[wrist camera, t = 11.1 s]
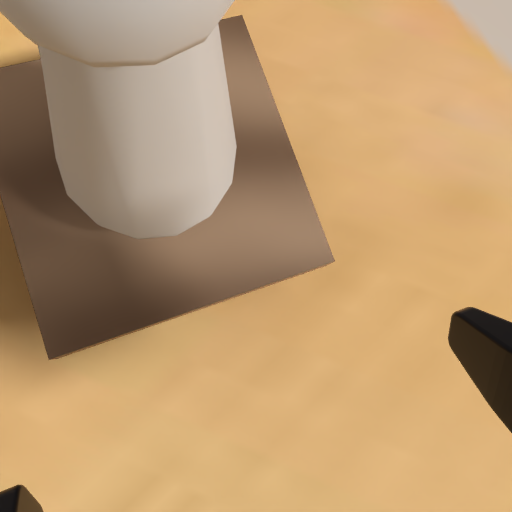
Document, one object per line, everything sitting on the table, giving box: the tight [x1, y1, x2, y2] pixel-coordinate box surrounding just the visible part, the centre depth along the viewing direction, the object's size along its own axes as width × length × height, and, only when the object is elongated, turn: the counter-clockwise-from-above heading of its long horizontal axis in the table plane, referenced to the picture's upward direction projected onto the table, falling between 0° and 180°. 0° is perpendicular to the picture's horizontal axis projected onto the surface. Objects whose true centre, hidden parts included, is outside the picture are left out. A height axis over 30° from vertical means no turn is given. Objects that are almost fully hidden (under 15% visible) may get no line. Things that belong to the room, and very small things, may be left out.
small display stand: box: [0, 15, 335, 360], centre depth 20 cm, size 11×11×4 cm
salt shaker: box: [0, 0, 237, 239], centre depth 12 cm, size 6×6×13 cm
